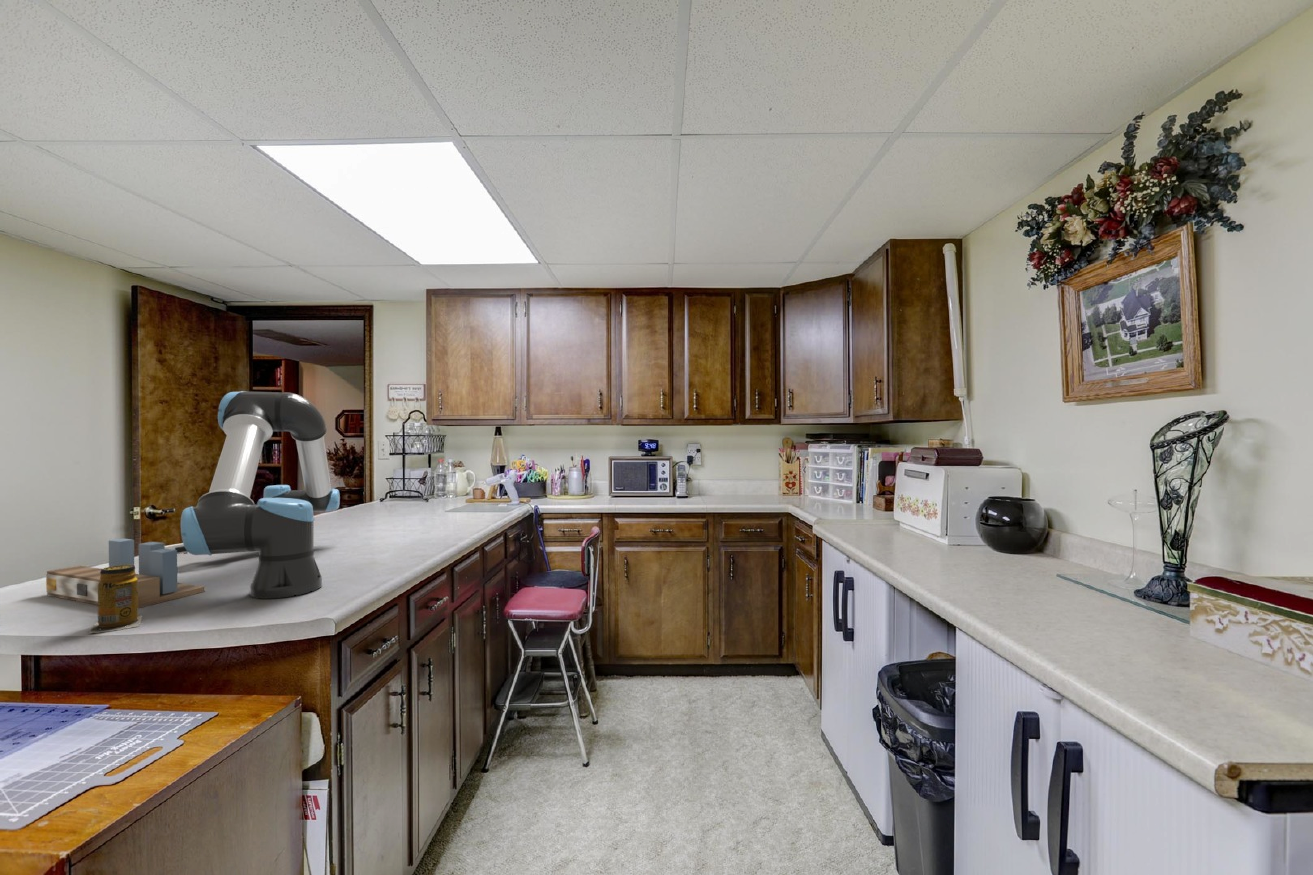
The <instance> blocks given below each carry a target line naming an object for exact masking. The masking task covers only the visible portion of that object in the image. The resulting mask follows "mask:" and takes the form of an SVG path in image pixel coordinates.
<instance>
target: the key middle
mask: <svg viewBox="0 0 1313 875" xmlns="http://www.w3.org/2000/svg"><path fill="white" fill-rule="evenodd" d="M165 544H166V543H165V542H159V541H148V542H142V543H138V574H140V575H147V576H150V555H149V551H153V550H159V549H165V546H166V545H165Z"/></svg>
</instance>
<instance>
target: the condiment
mask: <svg viewBox="0 0 1313 875" xmlns="http://www.w3.org/2000/svg"><path fill="white" fill-rule="evenodd" d="M101 569H102V570H101V572H100V573H101V577H100V579H101V581H100V582H99V584H98V605H97V622H95V623H94V624H93V626H92V627H91V630H90V631H89V633H88V634H98V633H104V632H112V631H120V630H125V629H131V628H135V627H136V628H137V627H139V626H140V625H141V622H142V619H143V615H139V608H138V579H137V578H136V577H135V574H137V572H136V567H135V565H134V566H133V565H119V566H112V567H109V566H108V567H104V568H101Z"/></svg>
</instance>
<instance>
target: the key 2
mask: <svg viewBox="0 0 1313 875" xmlns="http://www.w3.org/2000/svg"><path fill="white" fill-rule="evenodd" d="M149 555H150V576H154V577H159V578H160V594H167V593H171V592H175V591H177V583H178V554H177V550H171V549H159V550H153V551H149Z"/></svg>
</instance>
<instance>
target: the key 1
mask: <svg viewBox="0 0 1313 875" xmlns="http://www.w3.org/2000/svg"><path fill="white" fill-rule="evenodd" d="M119 565H133V566H135V539H129V538H116V539H110V540H108V567H112V566H119Z"/></svg>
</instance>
